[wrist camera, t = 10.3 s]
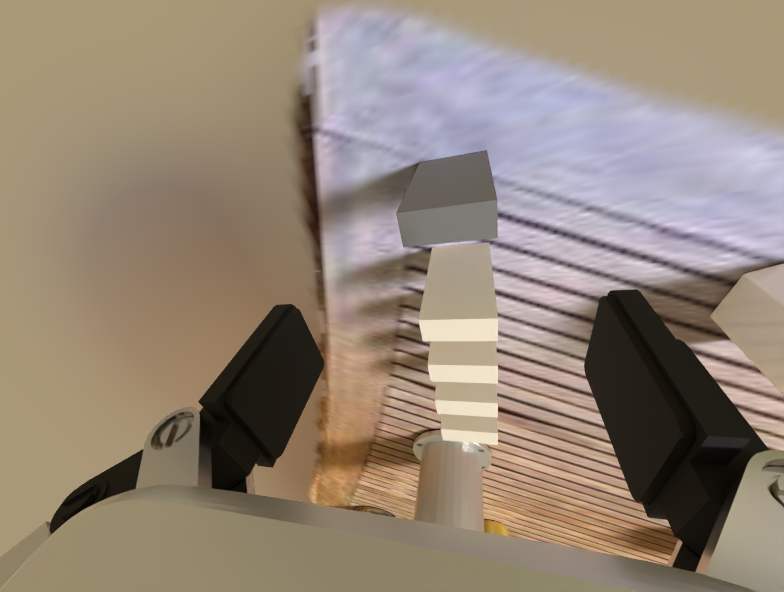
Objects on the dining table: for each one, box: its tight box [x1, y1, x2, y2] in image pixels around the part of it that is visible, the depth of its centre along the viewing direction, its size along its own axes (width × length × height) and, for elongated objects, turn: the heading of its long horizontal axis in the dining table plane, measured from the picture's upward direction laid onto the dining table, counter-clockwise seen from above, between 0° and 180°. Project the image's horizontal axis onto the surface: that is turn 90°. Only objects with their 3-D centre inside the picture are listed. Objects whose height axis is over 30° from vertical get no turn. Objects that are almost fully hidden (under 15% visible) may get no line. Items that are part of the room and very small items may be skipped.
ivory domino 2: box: [428, 341, 498, 384], centre depth 26 cm, size 2×5×10 cm, turn 102°
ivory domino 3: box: [435, 382, 498, 417], centre depth 29 cm, size 2×5×10 cm, turn 102°
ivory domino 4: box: [441, 414, 498, 445], centre depth 32 cm, size 2×5×10 cm, turn 102°
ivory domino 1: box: [419, 242, 498, 341], centre depth 24 cm, size 2×5×10 cm, turn 102°
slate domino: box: [396, 150, 498, 247], centre depth 19 cm, size 2×5×10 cm, turn 102°
